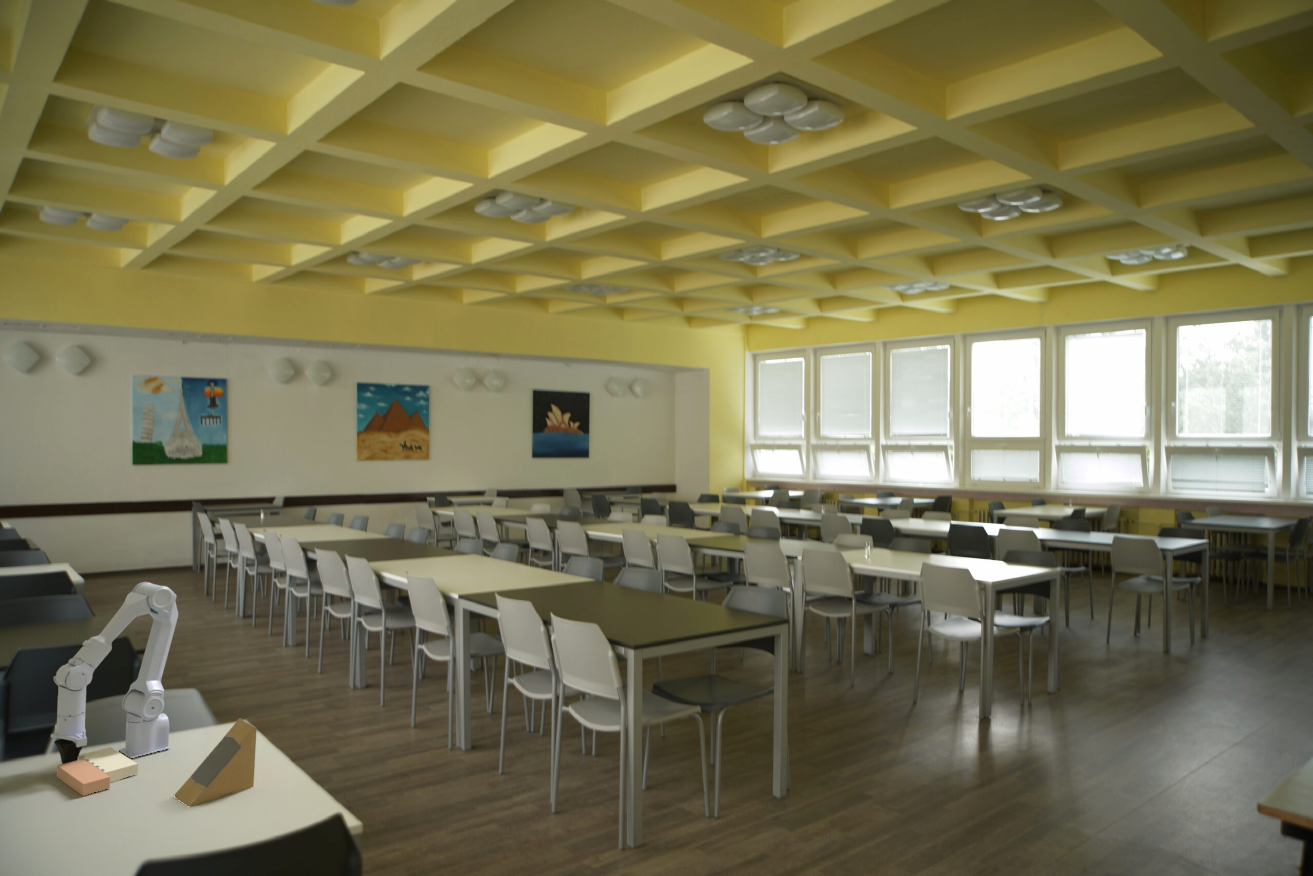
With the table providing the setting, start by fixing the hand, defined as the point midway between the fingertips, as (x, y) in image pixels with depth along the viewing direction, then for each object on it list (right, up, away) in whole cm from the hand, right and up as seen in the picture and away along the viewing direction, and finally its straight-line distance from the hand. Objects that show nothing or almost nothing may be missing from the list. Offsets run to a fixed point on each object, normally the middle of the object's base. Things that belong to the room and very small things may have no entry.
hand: (69, 768), depth 207 cm
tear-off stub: (+7, -1, -6) cm, 9 cm away
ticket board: (+8, -1, +2) cm, 8 cm away
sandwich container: (+39, -3, -7) cm, 40 cm away
